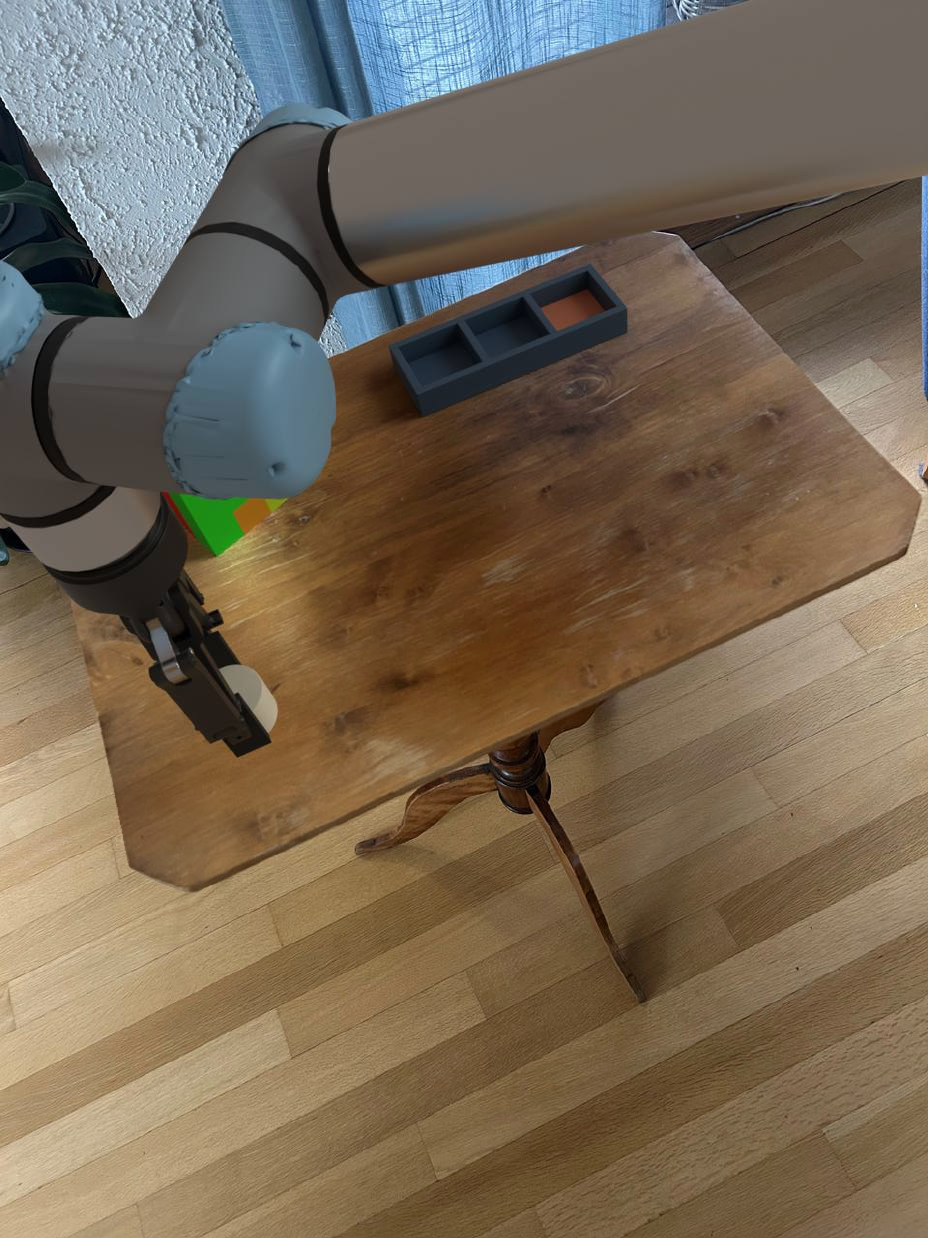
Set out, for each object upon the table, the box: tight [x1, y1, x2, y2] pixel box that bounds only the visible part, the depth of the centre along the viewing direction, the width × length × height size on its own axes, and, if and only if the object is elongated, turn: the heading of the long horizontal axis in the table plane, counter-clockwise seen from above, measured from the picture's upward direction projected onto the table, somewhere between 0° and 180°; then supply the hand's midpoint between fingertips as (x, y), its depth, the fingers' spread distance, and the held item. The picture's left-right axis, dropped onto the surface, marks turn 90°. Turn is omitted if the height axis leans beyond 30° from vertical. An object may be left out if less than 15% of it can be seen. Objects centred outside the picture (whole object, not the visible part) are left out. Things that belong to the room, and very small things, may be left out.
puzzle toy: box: [161, 492, 290, 557], centre depth 92 cm, size 10×10×10 cm
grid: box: [388, 263, 629, 418], centre depth 100 cm, size 8×23×3 cm, turn 113°
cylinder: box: [219, 664, 279, 744], centre depth 73 cm, size 5×5×4 cm
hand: (242, 715), depth 74 cm, fingers closed on cylinder, 5 cm apart
